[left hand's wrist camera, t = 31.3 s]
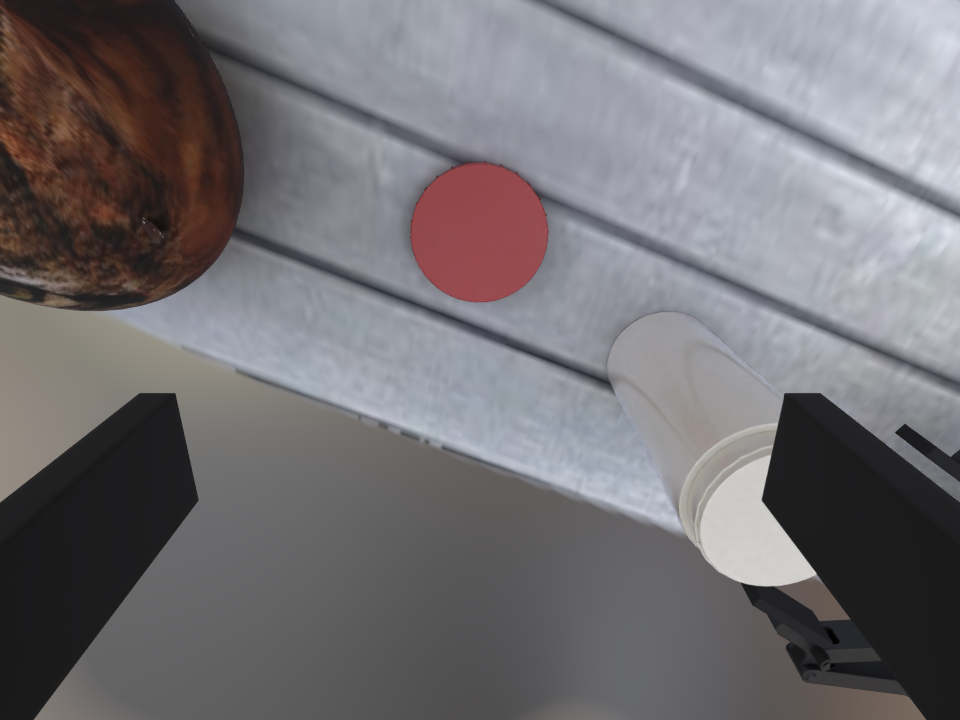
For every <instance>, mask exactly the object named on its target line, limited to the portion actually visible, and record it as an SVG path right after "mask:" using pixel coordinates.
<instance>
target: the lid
mask: <svg viewBox="0 0 960 720" xmlns="http://www.w3.org/2000/svg"><path fill="white" fill-rule="evenodd" d="M530 186H531V185H530V184H529V183H526V181H525V180H524V179H522V178H521V177H520V176H519V175H518V173H517V172H515V173H514V172H513V171H511V170H509V169H507V168H505V167H503V166H502V165H496V164H493V163H486V161H484V162H473V163H469V162H467V163H466V164H462V165H459V166H456V167H454V168H453V167H451V168H450V169H449V170H448V171H446V172H444V173H443V174H441V175H440V176H439V175H438V176H437V177H436V179H435V180H434V181H433V182H432V183H431V184H430V185H429V187H428V188H427V187H426V188H425V189H424V191H425V192H424V193H423V194H422V196H421V197H420V199H419V201H418V202H417V203H416V208H415V211H414V214H413V218H412V220H411V222H412V223H411V237H410V238H411V243H412V248H413V252H414V255H415V258H416V261H417V263H418V265H419V267H420V268H421V270H422V272H423V273H424V275H425V276H426V277H427V278H428V279H429V281H430V282H431V283H433V284H434V285H435V286H436V287H437V288H438V289H440V290H441V291H443V292H444V293H446V294H448V295H450V296H452V297H455V298H457V299H460V300H464V301H470V302H489V301H494V300H498V299H502V298H504V297H507V296H509V295H511V294H513V293H514V292H516V291H518V290H519V289H520V288H522V287H523V286H524V285H525V284H526V283H527V282H528V281H529V280H530V279H531V278H532V277H533V275H534V274H535V273H536V271H537V270H538V268H539V266H540V264H541V262H542V260H543V258H544V254H545V251H546V247H547V241H548V226H547V219H546V216H547V215H546V214H545V212H544V209H543V206H542V204H541V202H540V200H541V199H540V198H539V197H538V196H537V195H536V193H535V192H534V191H533V189H532V188H531V187H530Z"/></svg>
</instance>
